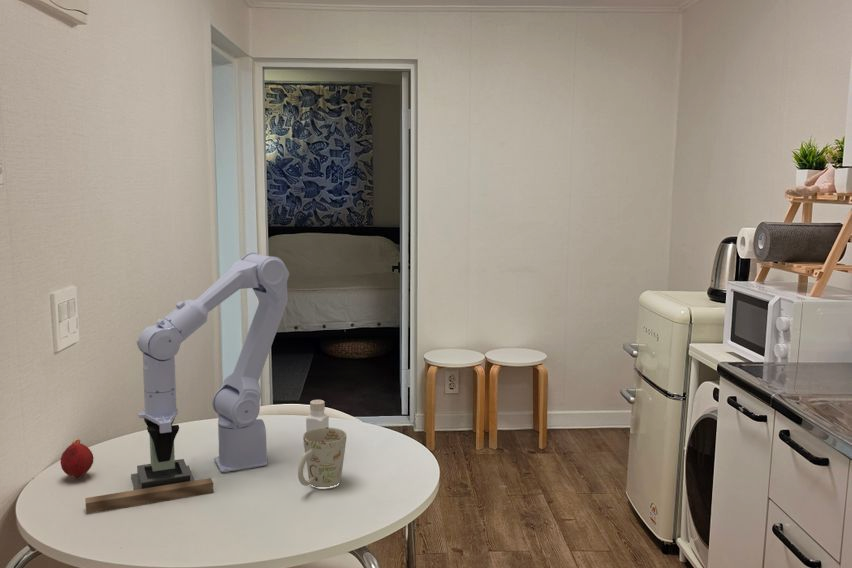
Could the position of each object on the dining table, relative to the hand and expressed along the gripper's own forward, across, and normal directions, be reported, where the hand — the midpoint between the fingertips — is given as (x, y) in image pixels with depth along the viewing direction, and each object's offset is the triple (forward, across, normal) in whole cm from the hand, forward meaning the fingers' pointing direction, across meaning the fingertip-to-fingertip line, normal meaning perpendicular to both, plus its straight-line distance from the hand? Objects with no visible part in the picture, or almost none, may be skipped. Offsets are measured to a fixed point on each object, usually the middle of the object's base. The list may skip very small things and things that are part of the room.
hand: (162, 456), depth 144 cm
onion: (+6, -9, -15) cm, 18 cm away
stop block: (+2, 0, 0) cm, 2 cm away
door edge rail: (+5, +7, -3) cm, 9 cm away
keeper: (+5, 0, 0) cm, 5 cm away
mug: (+6, +14, +27) cm, 31 cm away
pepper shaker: (+6, -9, +34) cm, 36 cm away
